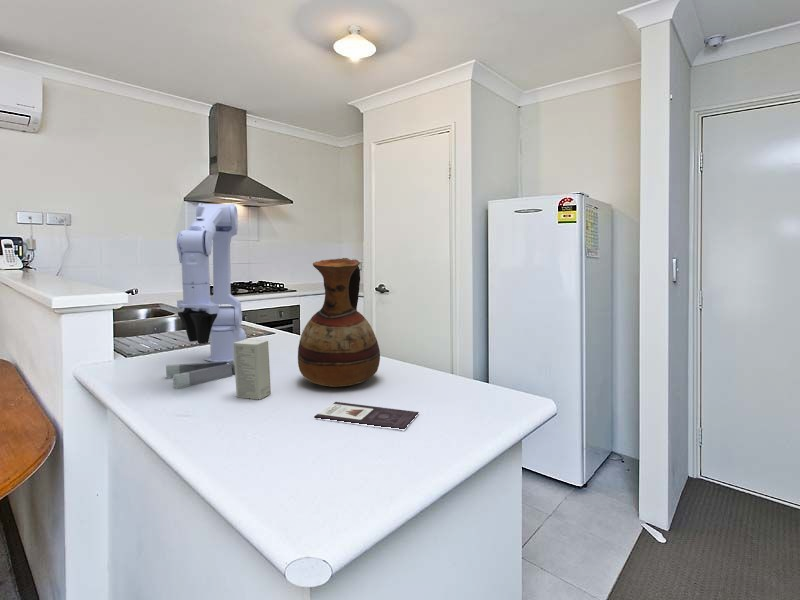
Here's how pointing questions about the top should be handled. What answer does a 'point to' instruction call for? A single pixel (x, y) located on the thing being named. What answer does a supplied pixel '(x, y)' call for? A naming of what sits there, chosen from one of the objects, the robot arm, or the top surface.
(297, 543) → the top surface
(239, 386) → the skincare box
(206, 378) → the tongs moving leg
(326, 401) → the top surface
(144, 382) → the top surface
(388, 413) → the chocolate bar
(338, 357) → the ceramic pitcher
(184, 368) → the bar
